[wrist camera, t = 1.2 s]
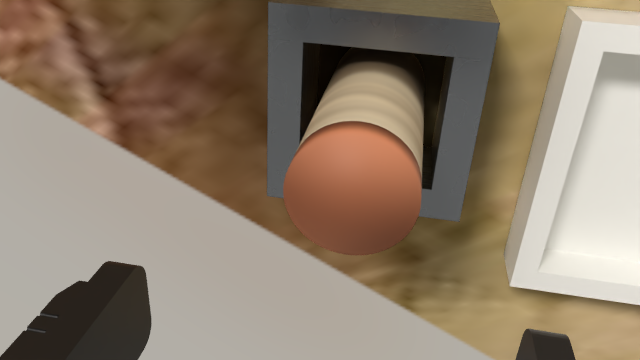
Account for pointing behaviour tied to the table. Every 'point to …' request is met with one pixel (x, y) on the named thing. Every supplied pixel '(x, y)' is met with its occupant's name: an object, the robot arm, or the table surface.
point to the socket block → (394, 35)
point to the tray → (584, 167)
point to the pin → (361, 155)
